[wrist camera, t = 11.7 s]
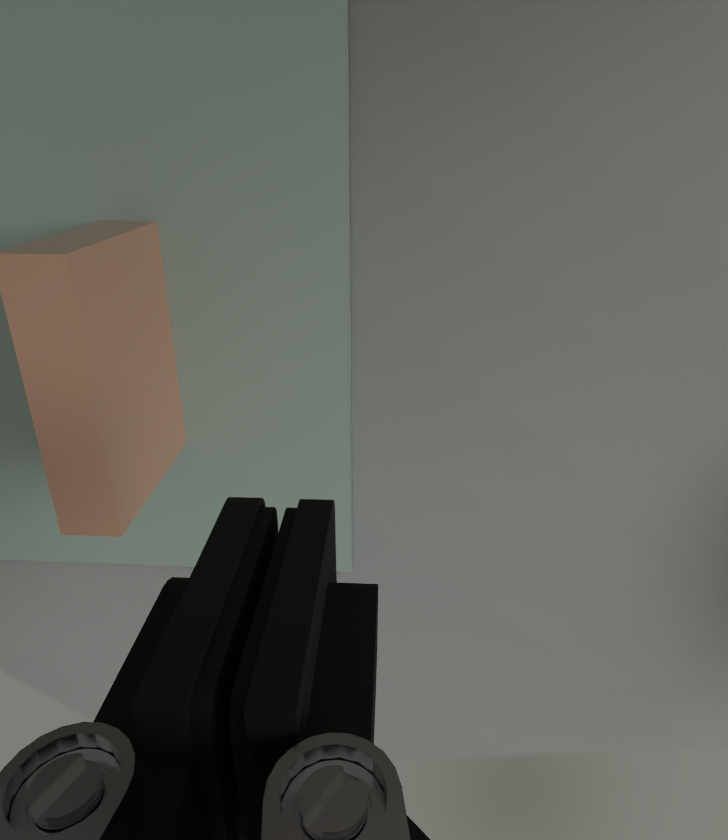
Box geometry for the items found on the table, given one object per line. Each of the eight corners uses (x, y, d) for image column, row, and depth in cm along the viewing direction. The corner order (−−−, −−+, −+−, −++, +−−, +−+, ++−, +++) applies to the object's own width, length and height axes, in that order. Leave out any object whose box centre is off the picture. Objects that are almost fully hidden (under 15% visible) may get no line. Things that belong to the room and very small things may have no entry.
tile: (97, 220, 20) (-16, 253, 14) (157, 221, 20) (65, 254, 14) (136, 440, 23) (55, 534, 18) (186, 442, 23) (121, 537, 18)
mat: (-192, -2, 18) (-209, -5, 18) (348, -6, 17) (346, -10, 17) (-16, 550, 27) (-25, 559, 26) (352, 563, 26) (351, 572, 25)
